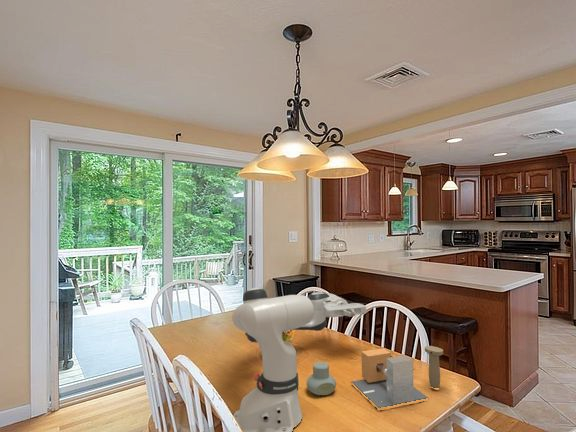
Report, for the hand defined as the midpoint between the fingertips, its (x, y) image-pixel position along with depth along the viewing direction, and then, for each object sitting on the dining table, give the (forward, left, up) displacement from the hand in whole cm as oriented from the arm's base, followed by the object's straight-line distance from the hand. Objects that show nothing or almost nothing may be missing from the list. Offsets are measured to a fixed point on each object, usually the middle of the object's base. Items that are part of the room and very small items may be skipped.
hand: (352, 314), depth 147 cm
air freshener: (-23, -18, -22) cm, 37 cm away
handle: (+18, -30, -22) cm, 41 cm away
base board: (0, -26, -22) cm, 34 cm away
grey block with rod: (0, -28, -20) cm, 35 cm away
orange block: (0, -19, -20) cm, 27 cm away
